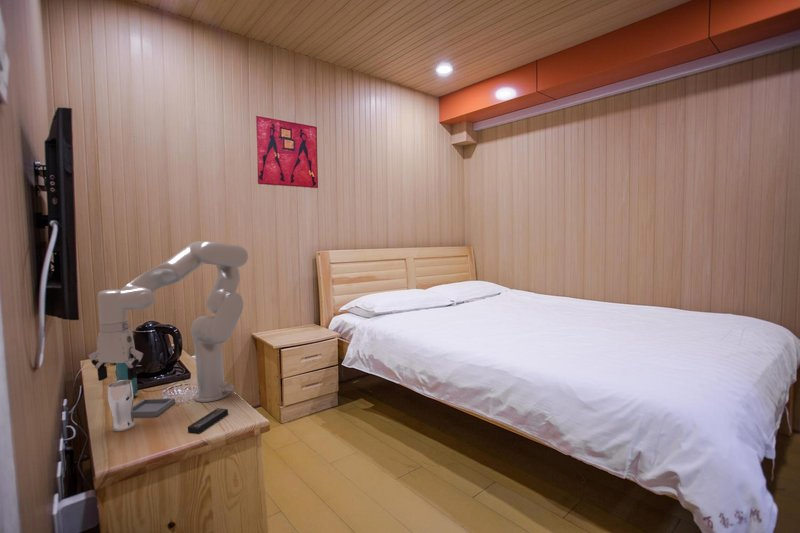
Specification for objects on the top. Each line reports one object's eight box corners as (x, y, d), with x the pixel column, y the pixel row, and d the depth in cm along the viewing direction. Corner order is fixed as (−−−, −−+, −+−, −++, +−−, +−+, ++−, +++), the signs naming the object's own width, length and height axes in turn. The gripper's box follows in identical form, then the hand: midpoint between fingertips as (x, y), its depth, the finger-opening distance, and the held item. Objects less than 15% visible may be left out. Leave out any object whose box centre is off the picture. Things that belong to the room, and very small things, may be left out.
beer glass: (118, 423, 143) (114, 380, 142) (140, 421, 143) (136, 378, 142) (106, 432, 136) (102, 387, 135) (129, 431, 136) (124, 386, 135)
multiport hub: (187, 433, 134) (186, 426, 134) (218, 414, 148) (217, 407, 148) (199, 435, 133) (198, 428, 133) (228, 415, 147) (228, 408, 147)
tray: (175, 403, 158) (174, 398, 158) (156, 416, 147) (156, 411, 147) (144, 404, 158) (144, 398, 158) (124, 417, 147) (123, 412, 147)
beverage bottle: (142, 394, 168) (137, 345, 166) (130, 401, 161) (125, 350, 159) (127, 394, 168) (122, 346, 167) (114, 401, 162) (109, 350, 160)
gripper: (147, 324, 140) (150, 374, 141) (96, 325, 140) (99, 375, 142) (132, 329, 133) (136, 382, 134) (78, 330, 133) (82, 383, 134)
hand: (117, 379), depth 138 cm, fingers open, 9 cm apart
